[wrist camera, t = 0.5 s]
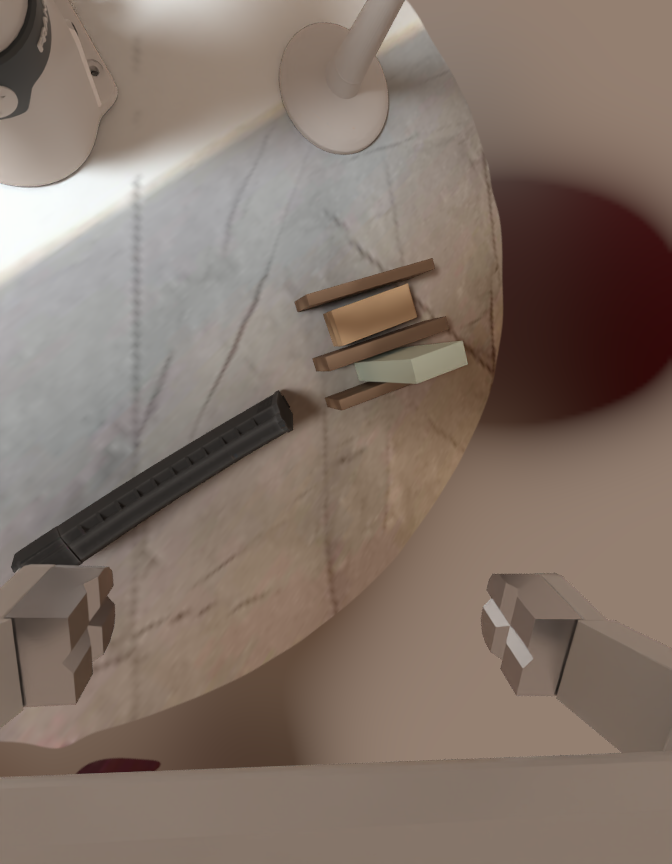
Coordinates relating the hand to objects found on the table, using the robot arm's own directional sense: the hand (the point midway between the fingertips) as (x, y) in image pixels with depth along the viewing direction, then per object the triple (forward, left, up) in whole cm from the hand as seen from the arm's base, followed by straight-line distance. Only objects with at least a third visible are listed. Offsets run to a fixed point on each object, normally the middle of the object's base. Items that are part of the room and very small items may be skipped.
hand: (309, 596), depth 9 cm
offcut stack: (-5, +22, -42) cm, 47 cm away
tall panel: (+1, +22, -41) cm, 47 cm away
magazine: (+5, -6, -42) cm, 42 cm away
